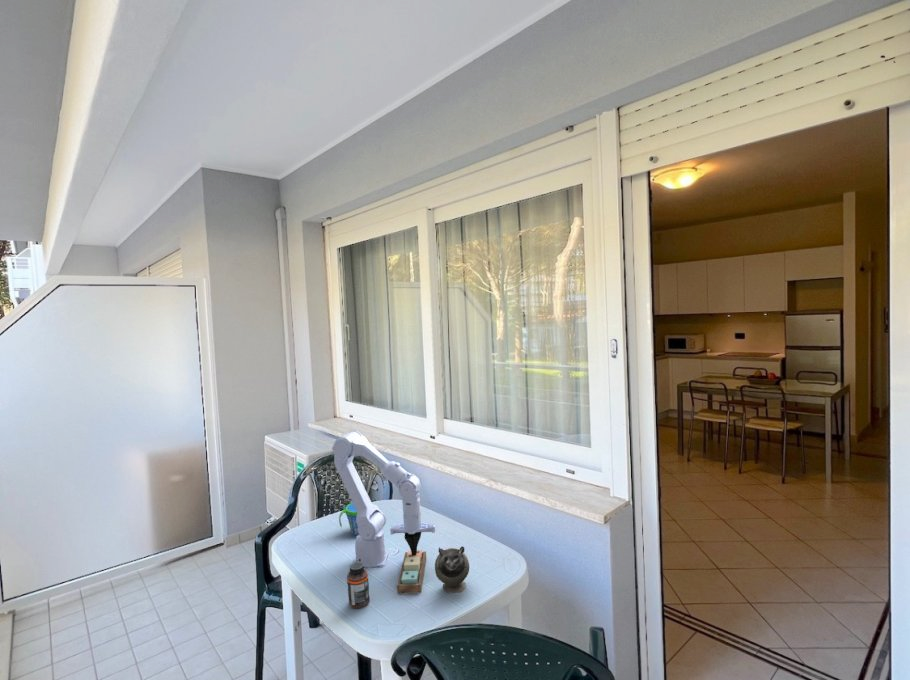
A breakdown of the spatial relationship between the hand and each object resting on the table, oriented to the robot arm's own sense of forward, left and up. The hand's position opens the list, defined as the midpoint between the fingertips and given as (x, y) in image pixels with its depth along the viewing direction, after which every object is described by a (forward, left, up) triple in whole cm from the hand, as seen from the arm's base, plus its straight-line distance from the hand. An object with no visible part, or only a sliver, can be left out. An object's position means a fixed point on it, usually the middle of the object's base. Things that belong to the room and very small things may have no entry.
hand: (414, 553), depth 155 cm
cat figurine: (+13, -14, -4) cm, 19 cm away
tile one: (0, -6, -2) cm, 7 cm away
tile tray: (0, -6, -4) cm, 7 cm away
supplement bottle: (-14, -20, -4) cm, 24 cm away
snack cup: (-24, +25, -4) cm, 35 cm away
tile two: (0, -12, -3) cm, 13 cm away
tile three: (0, 0, -3) cm, 3 cm away
